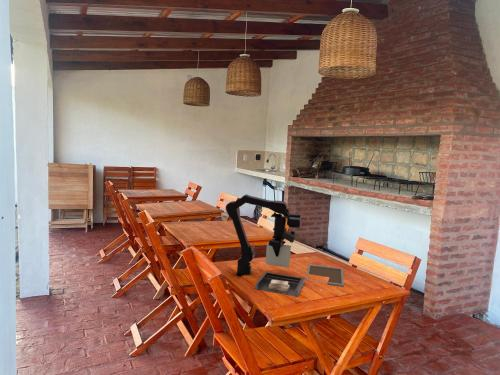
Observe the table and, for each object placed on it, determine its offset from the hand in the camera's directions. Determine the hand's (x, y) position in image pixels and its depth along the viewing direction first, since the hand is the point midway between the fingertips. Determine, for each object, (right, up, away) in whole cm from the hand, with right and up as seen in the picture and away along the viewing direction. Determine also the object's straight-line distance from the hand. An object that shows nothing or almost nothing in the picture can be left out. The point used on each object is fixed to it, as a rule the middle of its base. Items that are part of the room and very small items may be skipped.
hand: (277, 256), depth 202 cm
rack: (+1, -14, -11) cm, 18 cm away
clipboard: (+27, -13, +12) cm, 32 cm away
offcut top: (0, -11, -15) cm, 18 cm away
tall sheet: (0, -5, +1) cm, 5 cm away
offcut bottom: (0, -13, -14) cm, 19 cm away
